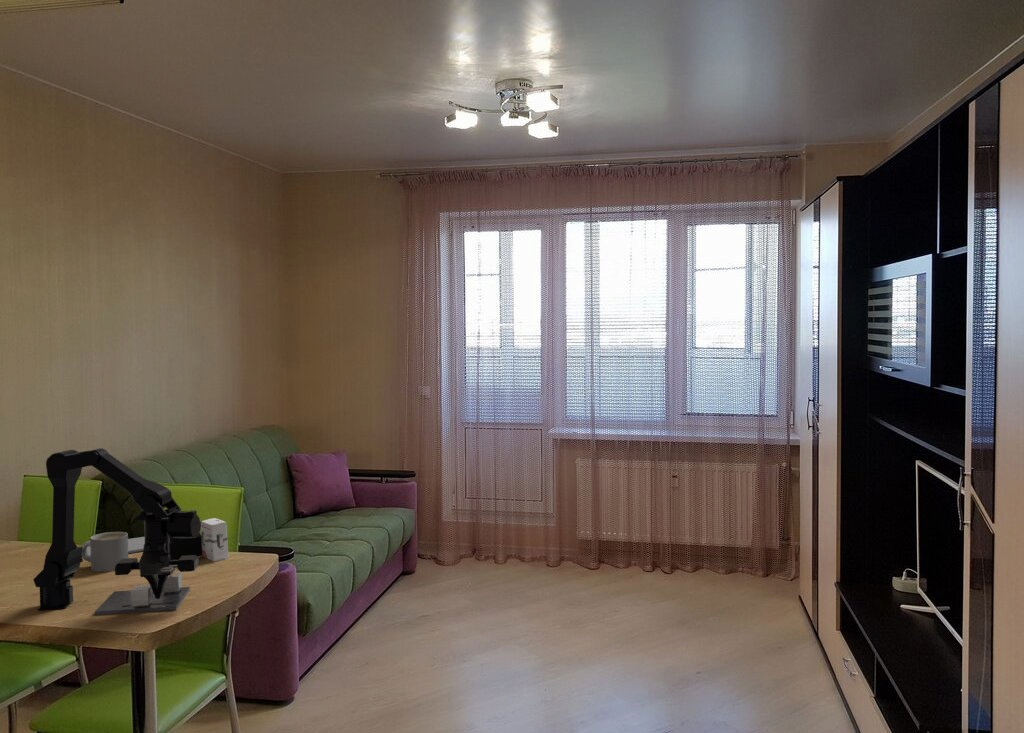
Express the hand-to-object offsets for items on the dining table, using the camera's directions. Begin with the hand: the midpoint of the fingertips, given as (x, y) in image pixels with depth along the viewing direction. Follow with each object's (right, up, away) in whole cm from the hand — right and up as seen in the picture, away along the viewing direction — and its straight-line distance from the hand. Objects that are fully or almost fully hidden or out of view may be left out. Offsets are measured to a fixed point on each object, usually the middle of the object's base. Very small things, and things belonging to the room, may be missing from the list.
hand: (158, 598), depth 203 cm
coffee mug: (-31, -2, +35) cm, 47 cm away
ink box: (-2, -1, +44) cm, 44 cm away
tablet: (-34, -1, +56) cm, 65 cm away
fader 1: (-4, -1, -1) cm, 4 cm away
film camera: (-14, -1, +45) cm, 47 cm away
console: (-5, -2, +4) cm, 7 cm away
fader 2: (-1, -1, +10) cm, 10 cm away
